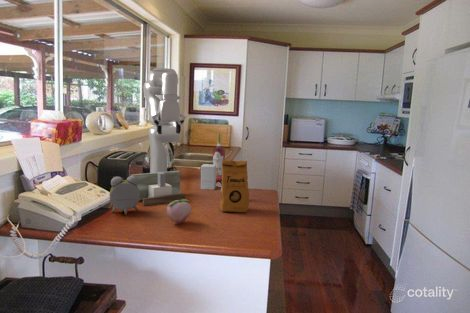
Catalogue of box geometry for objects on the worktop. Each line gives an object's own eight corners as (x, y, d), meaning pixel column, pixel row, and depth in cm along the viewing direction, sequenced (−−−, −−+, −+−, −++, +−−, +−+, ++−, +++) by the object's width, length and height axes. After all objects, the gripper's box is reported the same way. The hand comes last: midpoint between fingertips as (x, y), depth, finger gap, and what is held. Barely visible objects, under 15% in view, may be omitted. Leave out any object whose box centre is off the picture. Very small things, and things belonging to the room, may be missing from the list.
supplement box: (216, 186, 191) (216, 164, 190) (213, 190, 184) (214, 166, 182) (202, 186, 192) (203, 163, 190) (200, 189, 185) (200, 165, 183)
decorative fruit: (180, 218, 137) (180, 193, 136) (194, 223, 132) (195, 197, 131) (161, 223, 130) (161, 197, 129) (175, 229, 125) (176, 202, 123)
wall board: (131, 200, 159) (130, 174, 157) (178, 194, 173) (178, 170, 171) (139, 206, 150) (139, 179, 149) (188, 199, 164) (189, 174, 162)
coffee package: (248, 214, 145) (251, 162, 142) (219, 213, 145) (220, 161, 141) (248, 207, 155) (250, 159, 151) (220, 206, 155) (221, 158, 151)
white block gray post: (148, 199, 162) (148, 172, 160) (166, 197, 167) (166, 170, 165) (153, 202, 157) (153, 174, 155) (171, 200, 162) (171, 173, 160)
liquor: (225, 180, 208) (227, 134, 204) (222, 183, 201) (223, 134, 197) (214, 179, 210) (215, 133, 206) (210, 181, 203) (211, 134, 199)
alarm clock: (139, 209, 147) (138, 174, 144) (140, 214, 140) (140, 177, 138) (109, 211, 142) (109, 175, 140) (110, 216, 136) (109, 179, 134)
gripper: (182, 98, 176) (181, 132, 179) (149, 97, 166) (149, 133, 169) (189, 99, 170) (188, 134, 173) (155, 98, 160) (155, 135, 163)
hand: (168, 133), depth 171 cm, fingers open, 9 cm apart
